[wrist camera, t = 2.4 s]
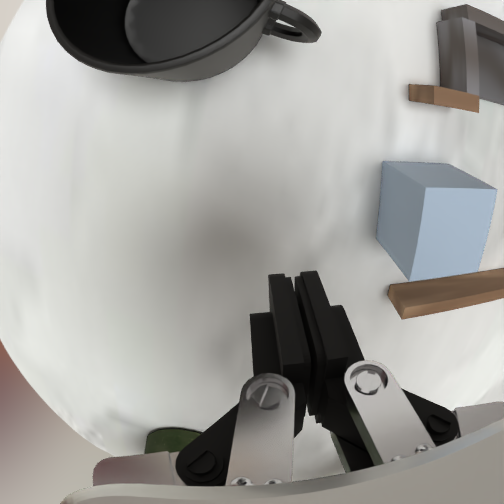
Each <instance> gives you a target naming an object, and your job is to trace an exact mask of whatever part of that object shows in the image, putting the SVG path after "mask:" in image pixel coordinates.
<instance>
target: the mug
mask: <svg viewBox="0 0 504 504" xmlns="http://www.w3.org/2000/svg"><path fill="white" fill-rule="evenodd" d="M46 10H47V18H48V21H49V24H50V27H51V30H52V32H53V34H54V36H55V37H56V39H57V41H58V42H59V44H60V45H61V46H62V47H63V48H64V49H65V50H66V51H67V52H68V53H69V54H70V55H71V56H73V57H74V58H75V59H77V60H78V61H80V62H82V63H84V64H86V65H88V66H90V67H92V68H95V69H98V70H102V71H105V72H109V73H116V74H125V75H133V76H142V77H149V78H156V79H163V80H169V81H181V82H187V81H196V80H201V79H206V78H210V77H213V76H215V75H218V74H220V73H223V72H224V71H226V70H228V69H230V68H232V67H233V66H235V65H236V64H238V63H239V62H240V61H242V60H243V59H244V58H245V57H246V56H247V55H248V54H249V53H250V52H251V51H252V50H253V48H254V47H255V46H256V44H257V43H258V41H259V40H260V38H261V36H262V34H266V35H270V34H271V35H274V36H277V37H280V38H283V39H286V40H290V41H295V42H302V43H313V42H316V41H317V40H318V39H319V37H320V36H321V30H320V28H319V27H318V25H317V24H316V22H315V21H314V20H313V19H312V18H311V17H309V16H308V15H306V14H305V13H303V12H302V11H300V10H298V9H296V8H294V7H292V6H290V5H288V4H286V2H284V1H282V0H46ZM278 19H279V20H281V21H284V22H286V23H288V24H290V25H292V26H294V27H295V28H294V27H290V26H286V25H283V24H280V23H277V22H276V20H278Z"/></svg>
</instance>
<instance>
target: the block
mask: <svg viewBox="0 0 504 504" xmlns="http://www.w3.org/2000/svg"><path fill="white" fill-rule="evenodd" d="M496 194H497V189H495V188H494V187H492V186H490V185H488V184H486V183H485V182H483V181H481V180H479V179H477V178H475V177H473V176H472V175H470V174H468V173H466V172H464V171H462V170H460V169H458V168H456V167H454V166H452V165H450V164H441V163H422V162H392V161H383V164H382V180H381V194H380V205H379V216H378V225H377V234H376V239H377V240H378V242H379V243H380V244H381V245H382V247H383V248H384V249H385V250H386V252H387V253H388V254H389V255H390V257H391V258H392V259H393V261H394V262H395V263H396V265H397V266H398V267H399V268H400V270H401V271H402V272H403V274H404V275H405V276H406V278H407V279H408V280H409V282H410V281H418V280H425V279H432V278H439V277H446V276H453V275H460V274H466V273H473V272H478V269H479V265H480V262H481V259H482V255H483V251H484V248H485V244H486V240H487V236H488V232H489V228H490V224H491V219H492V215H493V210H494V205H495V200H496Z"/></svg>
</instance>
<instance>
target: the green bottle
mask: <svg viewBox="0 0 504 504" xmlns="http://www.w3.org/2000/svg"><path fill="white" fill-rule="evenodd" d="M199 435H201V434H200V433H197V432H192V431H187V430H181V429H163V430H158V431H155V432H153V433H151V434H149V435H148V436H147V442H146V447H145V453H144V454H149V453H157V452H164V451H168V452H169V453H174V452H180V451H181V450H182V449H183V448H184V447H185V446H187V445H188V444H189V443H191V442H192V441H193V440H194V439H196V438H197V437H198V436H199Z"/></svg>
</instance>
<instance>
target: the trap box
mask: <svg viewBox="0 0 504 504" xmlns="http://www.w3.org/2000/svg"><path fill="white" fill-rule="evenodd" d="M441 12H442V20H443V21H440V22H437V31H438V42H439V57H440V87H438V86H431V85H413V84H409V101H415V102H422V103H428V104H434V105H440V106H446V107H452V108H457V109H462V110H467V111H472V112H477V113H479V98H480V99H484V100H488V101H491V102H495V103H498V104H502V105H504V21H502V20H500V19H498V18H496V17H494V16H492V15H490V14H488V13H486V12H483V11H481V10H479V9H477V8H474V7H472V6H470V5H467V4H465V5H461V6H457V7H452V8H448V9H444V10H441ZM388 297H389V299H390V300H391V302H392V304H393V305H394V307H395V309H396V310H397V312H398V314H399V315H400V317H401V319H407V318H413V317H418V316H424V315H429V314H434V313H439V312H444V311H449V310H454V309H459V308H463V307H468V306H472V305H476V304H481V303H485V302H489V301H493V300H497V299H501V298H504V268H501V269H495V270H489V271H483V272H477V273H470V274H464V275H458V276H451V277H444V278H437V279H430V280H423V281H415V282H408V283H400V284H392V285H390V288H389V293H388Z"/></svg>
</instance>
